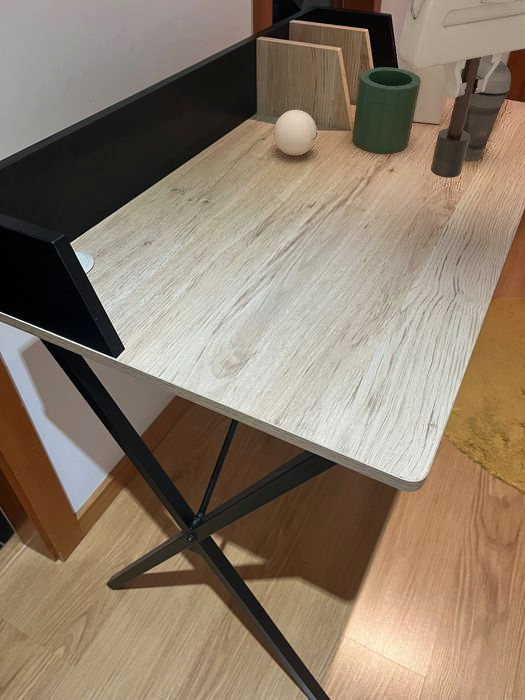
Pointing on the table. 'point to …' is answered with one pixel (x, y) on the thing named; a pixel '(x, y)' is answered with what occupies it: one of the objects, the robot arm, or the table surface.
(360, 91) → the jar
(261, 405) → the table surface
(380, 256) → the table surface
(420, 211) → the table surface
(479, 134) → the beverage cup
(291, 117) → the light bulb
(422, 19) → the robot arm
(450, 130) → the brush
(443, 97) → the milk carton
